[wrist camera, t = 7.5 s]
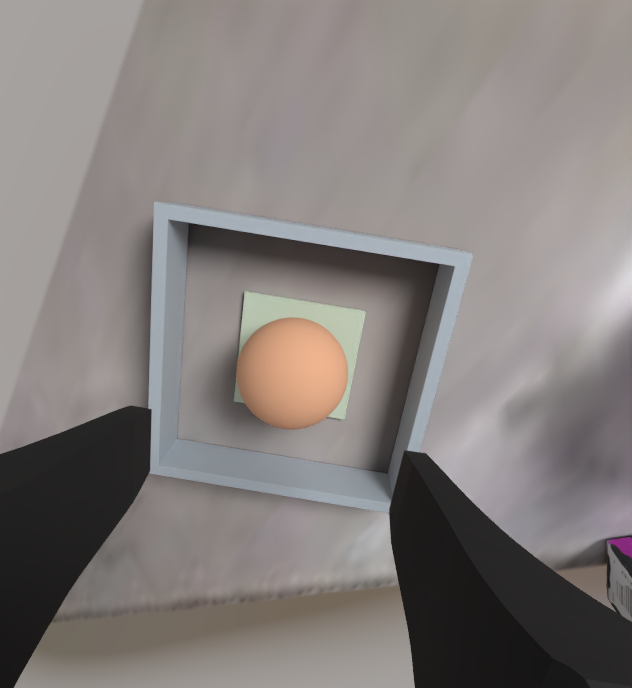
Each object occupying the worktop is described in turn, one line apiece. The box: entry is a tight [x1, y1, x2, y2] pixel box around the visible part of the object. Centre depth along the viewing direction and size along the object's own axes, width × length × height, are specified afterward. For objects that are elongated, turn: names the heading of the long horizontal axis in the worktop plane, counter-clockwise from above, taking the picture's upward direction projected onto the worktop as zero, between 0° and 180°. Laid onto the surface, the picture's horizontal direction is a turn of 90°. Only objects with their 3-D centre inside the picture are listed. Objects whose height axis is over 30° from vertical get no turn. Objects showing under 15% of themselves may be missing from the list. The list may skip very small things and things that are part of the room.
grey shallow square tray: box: [148, 202, 473, 513], centre depth 20 cm, size 13×13×2 cm
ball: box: [236, 317, 348, 429], centre depth 18 cm, size 5×5×5 cm
